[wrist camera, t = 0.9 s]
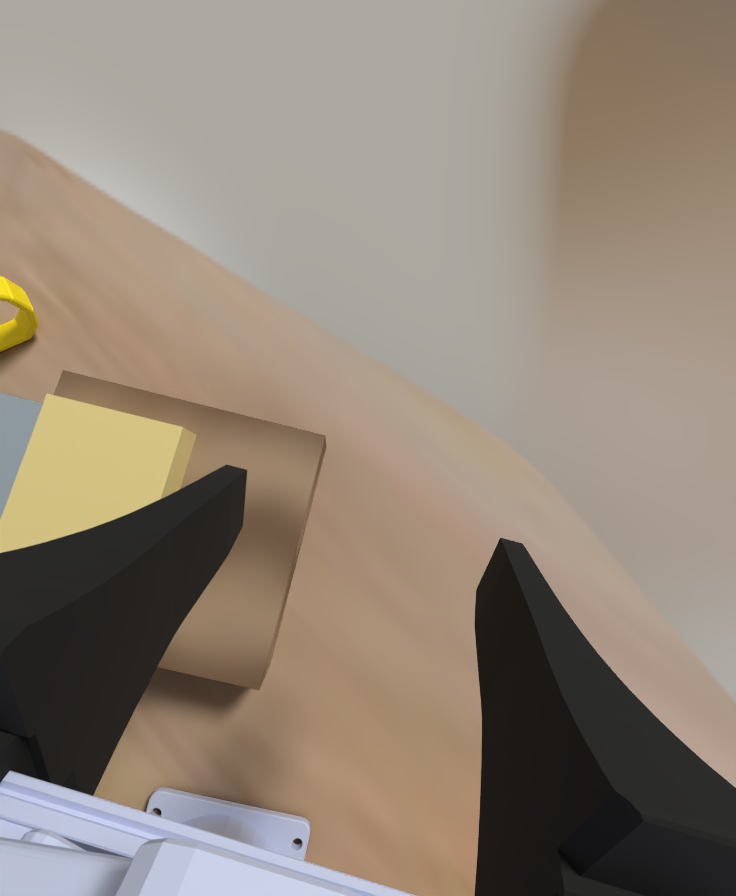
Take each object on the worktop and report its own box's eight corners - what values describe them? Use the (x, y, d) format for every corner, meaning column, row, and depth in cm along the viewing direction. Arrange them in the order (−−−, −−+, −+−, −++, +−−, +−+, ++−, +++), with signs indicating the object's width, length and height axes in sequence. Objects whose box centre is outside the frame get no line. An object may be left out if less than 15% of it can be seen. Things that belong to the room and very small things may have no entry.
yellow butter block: (137, 625, 20) (117, 637, 19) (4, 595, 20) (-31, 604, 18) (196, 435, 22) (183, 427, 20) (72, 404, 22) (47, 393, 20)
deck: (269, 665, 24) (259, 690, 20) (22, 608, 23) (-31, 624, 20) (326, 446, 26) (325, 435, 22) (99, 390, 25) (62, 370, 22)
